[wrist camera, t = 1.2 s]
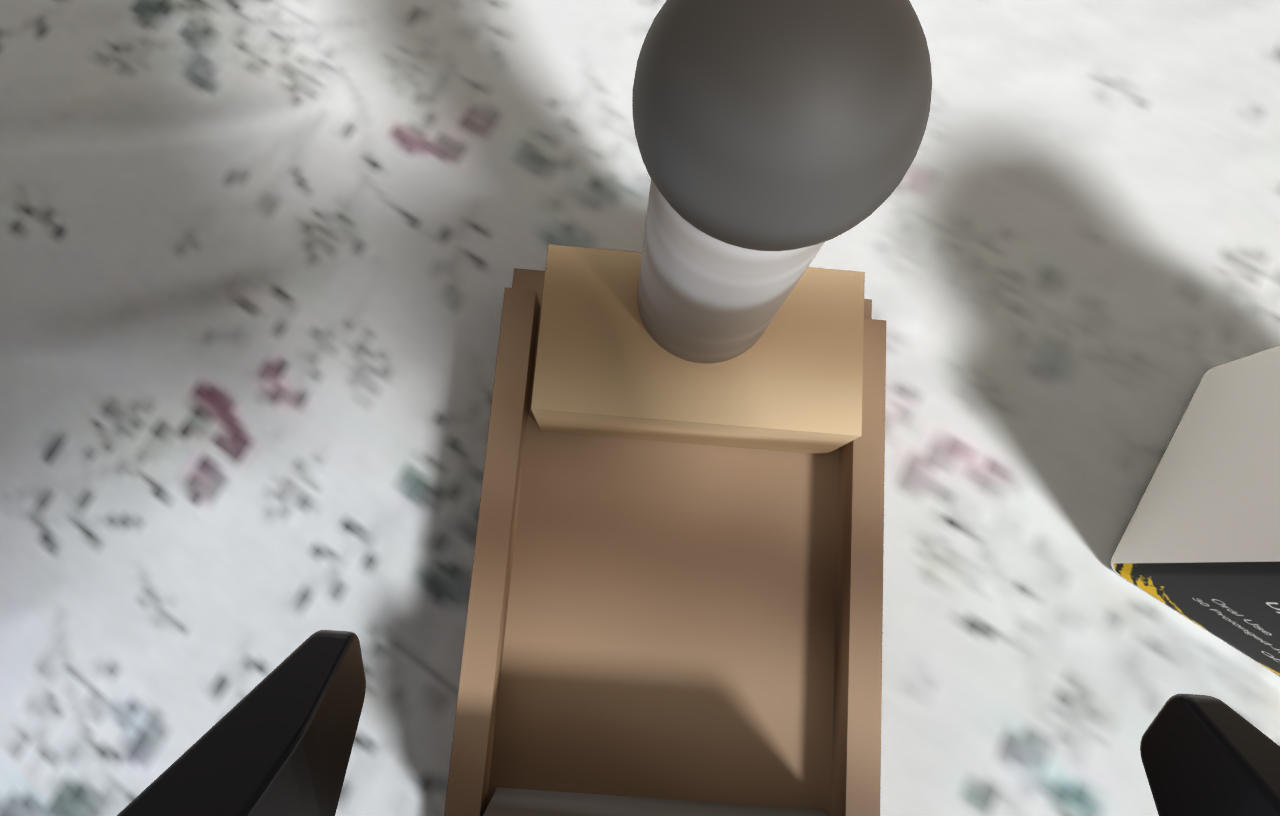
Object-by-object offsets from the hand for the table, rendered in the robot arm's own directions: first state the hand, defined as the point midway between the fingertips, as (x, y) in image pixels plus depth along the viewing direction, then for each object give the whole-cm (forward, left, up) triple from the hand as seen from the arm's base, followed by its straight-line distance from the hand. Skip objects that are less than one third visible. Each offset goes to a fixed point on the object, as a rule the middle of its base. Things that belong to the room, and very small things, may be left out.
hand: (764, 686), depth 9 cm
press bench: (+1, +2, -13) cm, 13 cm away
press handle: (+5, +5, -12) cm, 14 cm away
